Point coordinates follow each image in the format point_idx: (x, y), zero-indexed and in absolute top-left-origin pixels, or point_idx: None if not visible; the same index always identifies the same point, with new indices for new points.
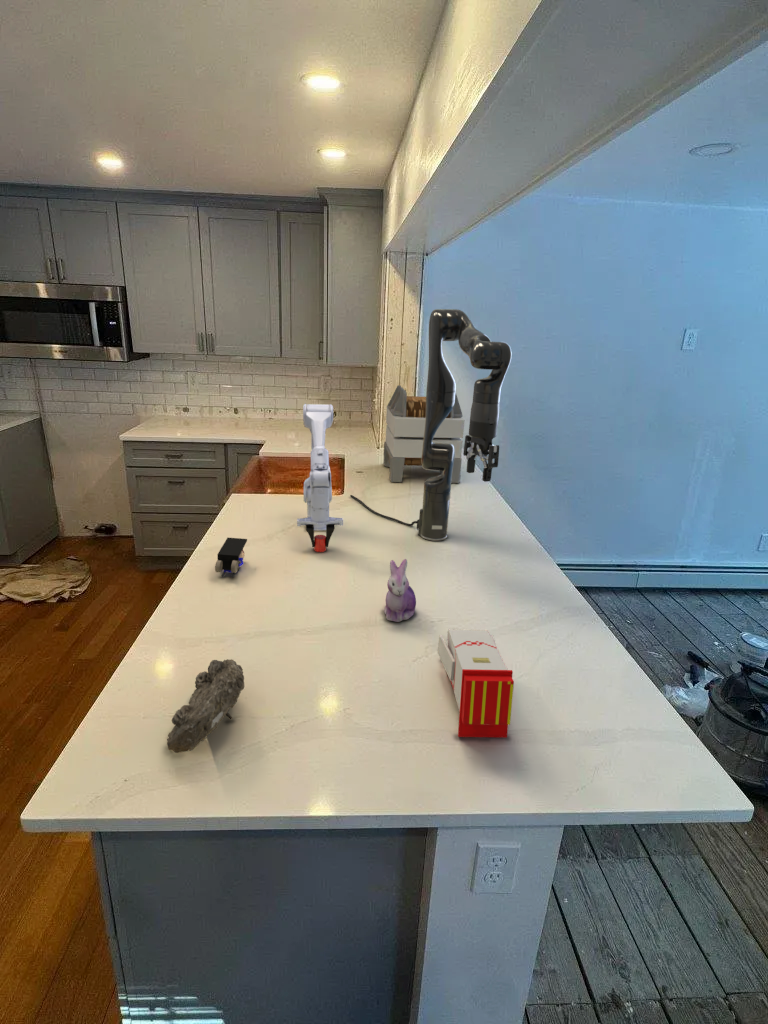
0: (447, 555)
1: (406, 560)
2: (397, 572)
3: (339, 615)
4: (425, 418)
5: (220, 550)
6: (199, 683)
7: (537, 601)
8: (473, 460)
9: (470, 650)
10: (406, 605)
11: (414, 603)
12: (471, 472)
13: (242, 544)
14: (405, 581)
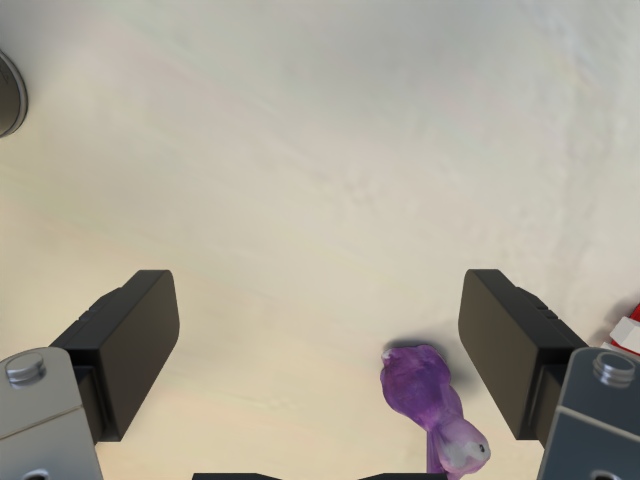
0: (148, 121)
1: (454, 466)
2: (463, 472)
3: (378, 456)
4: None
5: None
6: None
7: (515, 14)
8: (107, 374)
9: None
10: (453, 389)
11: (447, 368)
12: (173, 296)
13: None
14: (478, 446)
